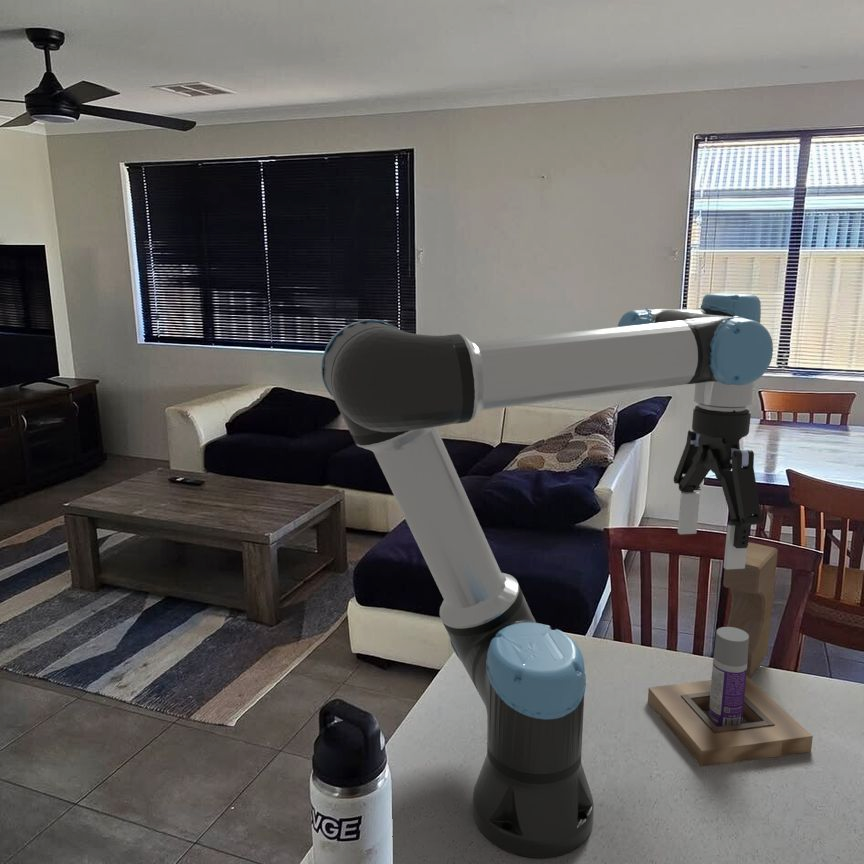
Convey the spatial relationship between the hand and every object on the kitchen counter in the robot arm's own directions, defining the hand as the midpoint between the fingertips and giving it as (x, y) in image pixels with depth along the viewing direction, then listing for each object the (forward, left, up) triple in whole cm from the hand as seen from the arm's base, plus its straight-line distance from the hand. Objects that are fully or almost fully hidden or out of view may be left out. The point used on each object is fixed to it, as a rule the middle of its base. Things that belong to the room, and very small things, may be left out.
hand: (709, 549), depth 109 cm
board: (+3, -3, -27) cm, 27 cm away
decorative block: (+16, +13, -27) cm, 34 cm away
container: (+3, -3, -27) cm, 28 cm away
